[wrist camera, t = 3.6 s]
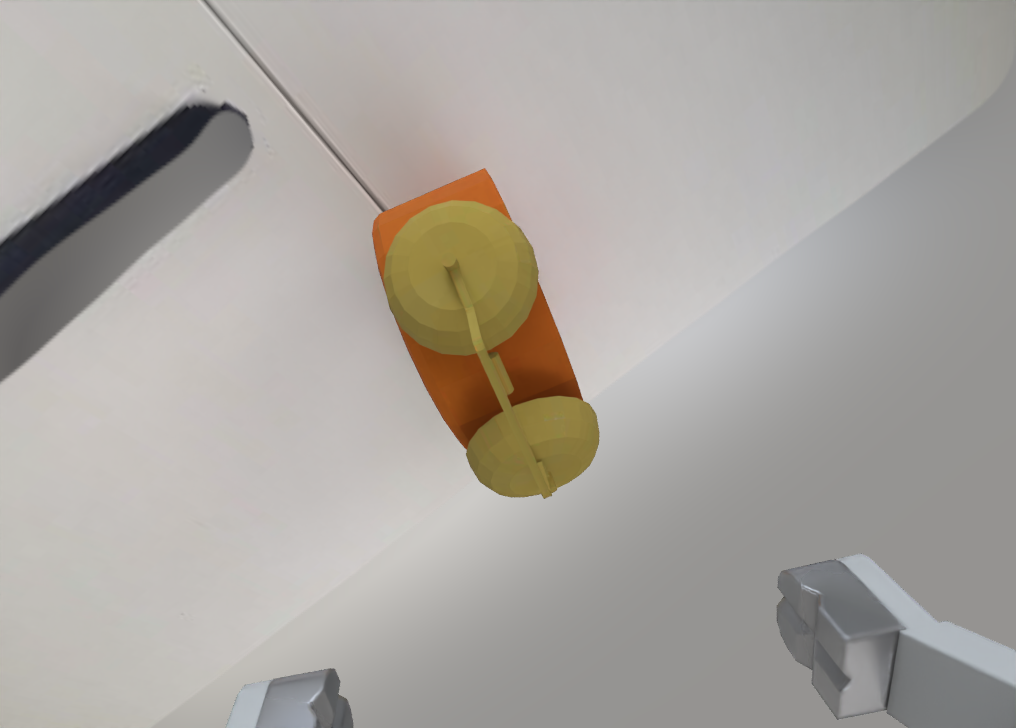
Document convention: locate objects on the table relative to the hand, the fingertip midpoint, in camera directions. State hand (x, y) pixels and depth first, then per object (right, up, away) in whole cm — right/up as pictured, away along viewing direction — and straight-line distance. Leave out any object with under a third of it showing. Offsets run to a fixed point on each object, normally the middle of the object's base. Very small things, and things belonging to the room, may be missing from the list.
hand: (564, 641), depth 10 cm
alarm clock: (-3, +10, +26) cm, 28 cm away
